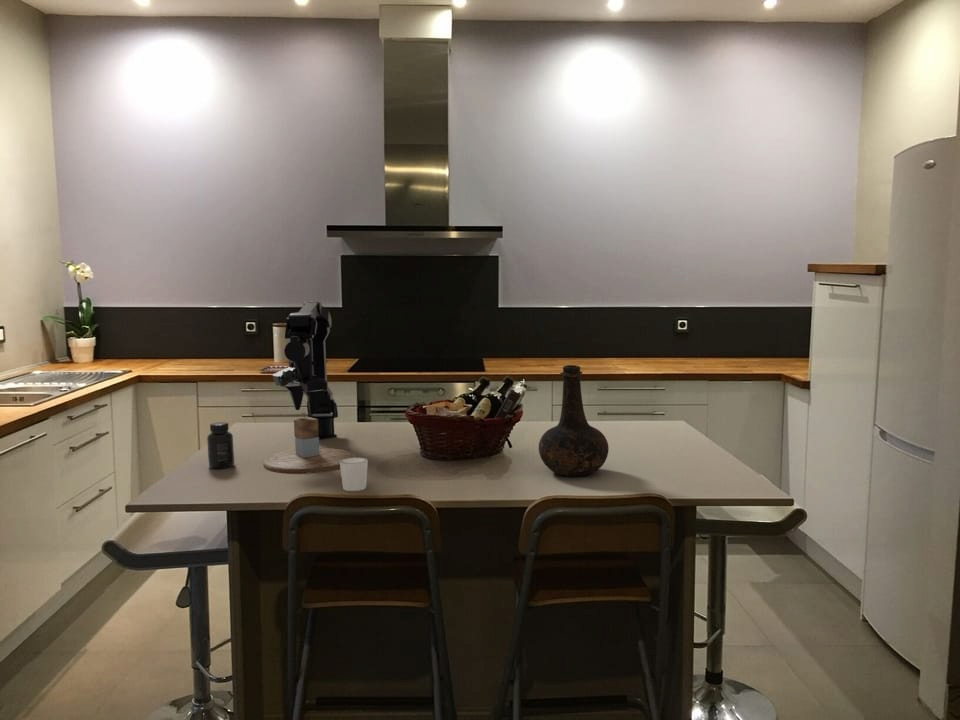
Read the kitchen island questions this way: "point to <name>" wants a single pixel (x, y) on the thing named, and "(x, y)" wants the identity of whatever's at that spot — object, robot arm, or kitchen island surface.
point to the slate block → (307, 447)
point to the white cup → (354, 473)
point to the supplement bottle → (220, 446)
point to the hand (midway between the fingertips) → (304, 412)
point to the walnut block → (306, 428)
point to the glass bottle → (573, 434)
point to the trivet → (306, 461)
